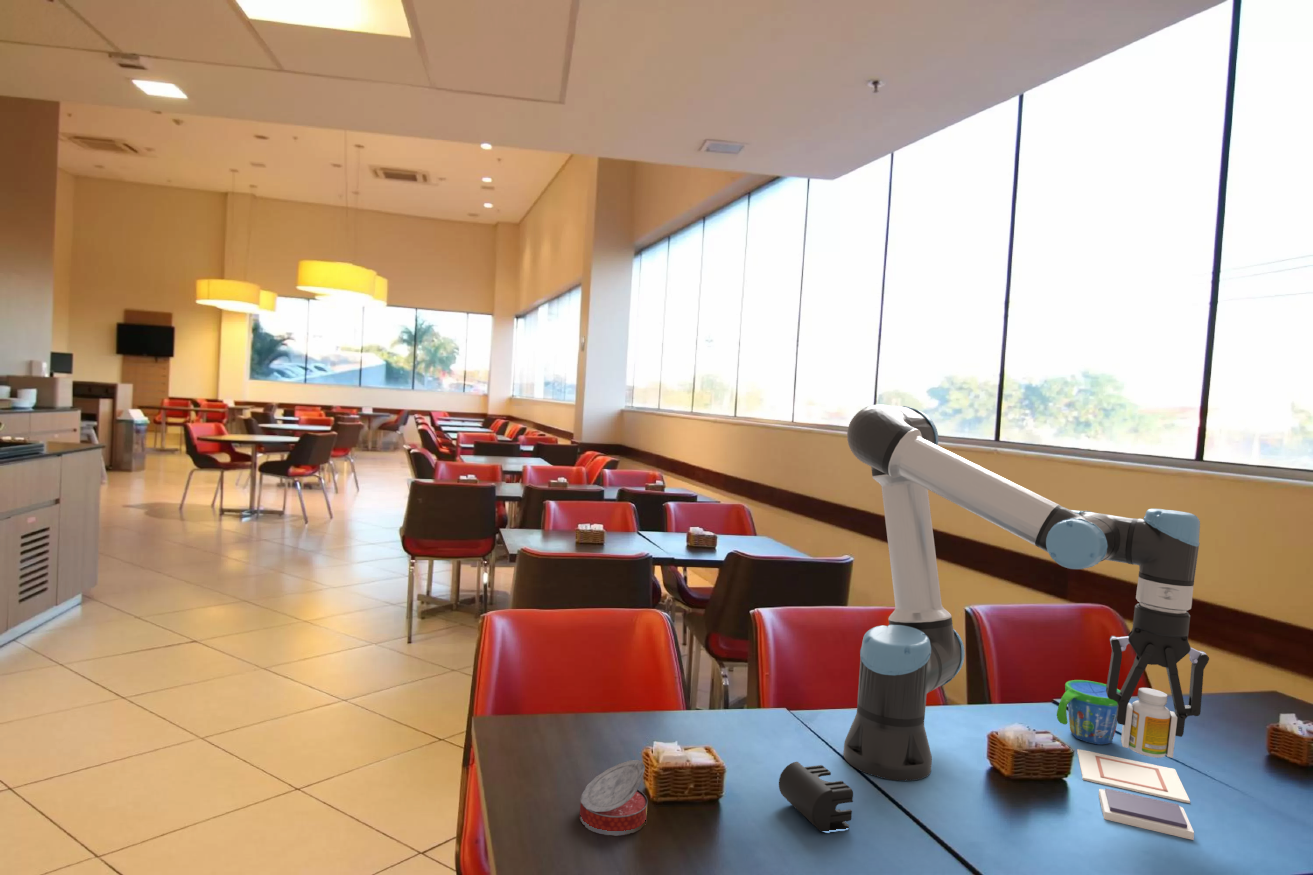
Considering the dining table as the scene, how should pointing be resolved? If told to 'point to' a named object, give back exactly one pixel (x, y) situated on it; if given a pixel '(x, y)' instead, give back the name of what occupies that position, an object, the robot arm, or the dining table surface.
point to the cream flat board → (1131, 775)
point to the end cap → (816, 796)
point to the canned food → (615, 798)
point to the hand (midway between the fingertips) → (1146, 748)
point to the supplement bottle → (1150, 723)
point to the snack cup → (1088, 711)
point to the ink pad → (1145, 813)
